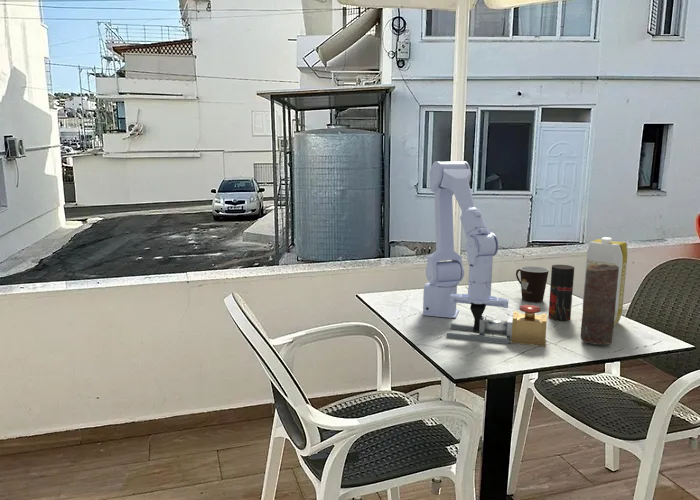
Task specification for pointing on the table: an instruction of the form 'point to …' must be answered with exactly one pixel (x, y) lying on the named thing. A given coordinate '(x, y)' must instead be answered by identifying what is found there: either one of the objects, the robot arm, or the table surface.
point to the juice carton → (610, 255)
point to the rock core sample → (599, 304)
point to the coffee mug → (533, 283)
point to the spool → (496, 327)
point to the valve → (529, 326)
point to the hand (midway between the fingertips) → (477, 331)
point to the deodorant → (561, 292)
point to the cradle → (474, 336)
